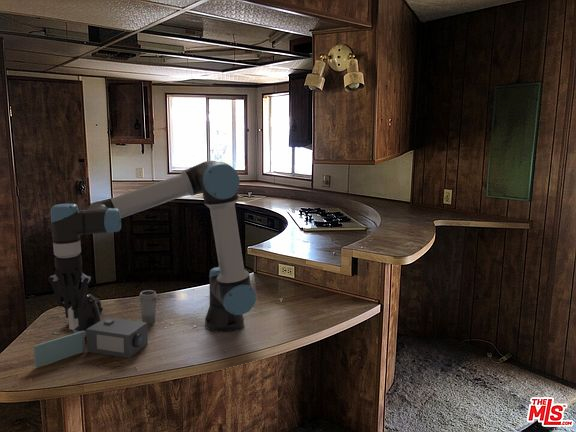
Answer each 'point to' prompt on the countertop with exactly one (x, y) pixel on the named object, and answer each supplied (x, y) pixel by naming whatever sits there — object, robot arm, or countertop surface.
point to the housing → (117, 337)
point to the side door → (59, 348)
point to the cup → (148, 306)
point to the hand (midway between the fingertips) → (73, 327)
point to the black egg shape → (88, 315)
